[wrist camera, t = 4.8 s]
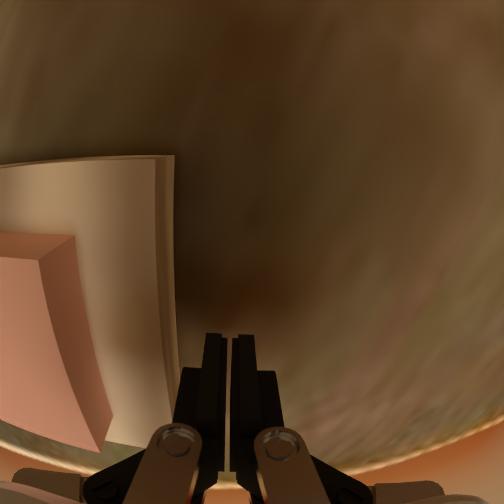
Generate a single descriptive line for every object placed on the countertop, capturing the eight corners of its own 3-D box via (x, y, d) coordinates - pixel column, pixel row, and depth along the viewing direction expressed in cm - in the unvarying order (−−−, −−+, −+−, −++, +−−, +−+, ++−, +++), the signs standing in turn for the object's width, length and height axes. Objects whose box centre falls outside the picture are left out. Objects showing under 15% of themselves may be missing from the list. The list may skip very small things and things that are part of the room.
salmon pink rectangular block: (74, 234, 9) (37, 260, 7) (113, 415, 12) (100, 452, 10) (-30, 231, 9) (-66, 250, 7) (19, 391, 12) (1, 419, 10)
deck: (174, 155, 12) (155, 159, 9) (183, 412, 16) (177, 452, 13) (-39, 171, 11) (-75, 181, 8) (10, 376, 15) (-9, 403, 13)
